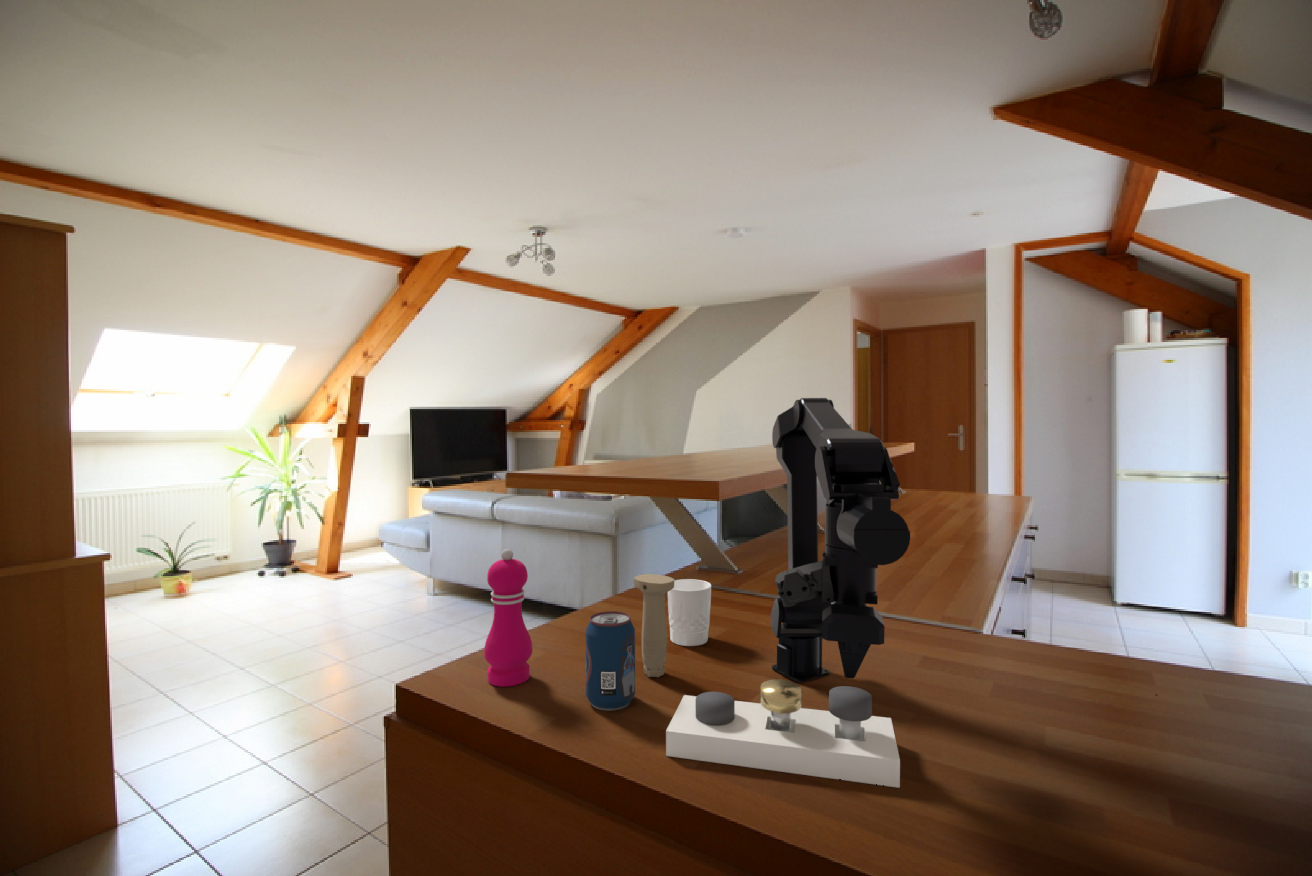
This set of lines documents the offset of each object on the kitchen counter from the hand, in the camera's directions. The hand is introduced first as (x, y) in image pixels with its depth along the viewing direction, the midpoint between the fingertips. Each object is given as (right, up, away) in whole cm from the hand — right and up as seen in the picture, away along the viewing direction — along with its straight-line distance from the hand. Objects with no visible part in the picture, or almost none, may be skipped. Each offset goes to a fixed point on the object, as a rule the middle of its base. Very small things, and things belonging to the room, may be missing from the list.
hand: (849, 677), depth 75 cm
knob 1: (-15, -9, +4) cm, 18 cm away
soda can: (-29, -9, +15) cm, 34 cm away
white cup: (-17, -8, +40) cm, 44 cm away
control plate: (-8, -10, +2) cm, 12 cm away
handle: (-23, -9, +25) cm, 35 cm away
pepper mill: (-45, -9, +23) cm, 52 cm away
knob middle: (-8, -7, +2) cm, 10 cm away
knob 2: (0, -7, 0) cm, 7 cm away
